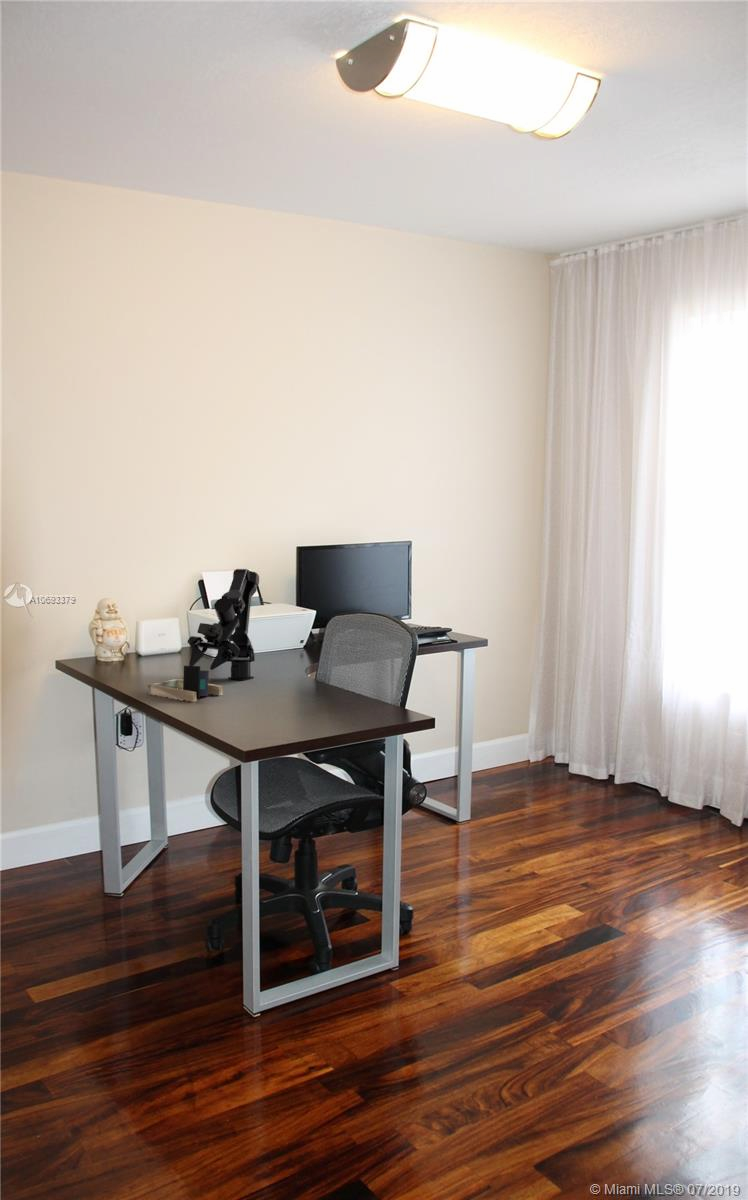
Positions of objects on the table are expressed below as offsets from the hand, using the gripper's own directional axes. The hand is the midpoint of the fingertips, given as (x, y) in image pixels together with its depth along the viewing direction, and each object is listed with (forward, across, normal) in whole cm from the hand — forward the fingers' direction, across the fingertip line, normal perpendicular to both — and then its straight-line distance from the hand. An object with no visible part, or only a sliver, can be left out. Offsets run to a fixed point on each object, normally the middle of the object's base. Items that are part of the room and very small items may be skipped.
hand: (200, 667), depth 309 cm
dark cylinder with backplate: (+8, 0, +5) cm, 9 cm away
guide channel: (+8, -5, +5) cm, 11 cm away
